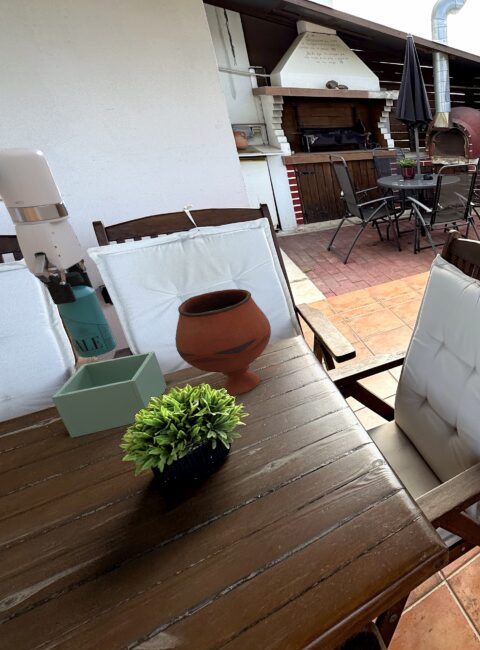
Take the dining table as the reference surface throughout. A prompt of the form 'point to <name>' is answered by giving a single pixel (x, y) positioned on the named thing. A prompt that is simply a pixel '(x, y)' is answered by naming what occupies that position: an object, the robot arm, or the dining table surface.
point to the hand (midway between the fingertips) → (74, 295)
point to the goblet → (223, 336)
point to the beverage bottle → (86, 320)
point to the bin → (108, 393)
